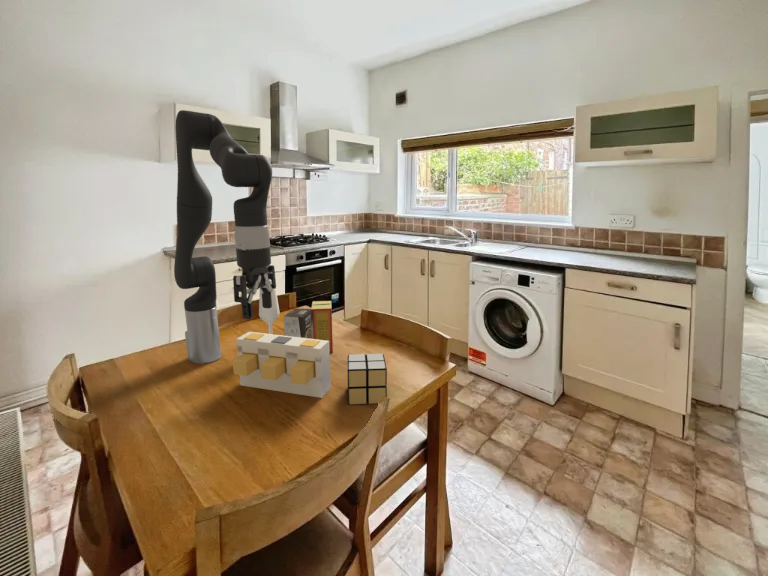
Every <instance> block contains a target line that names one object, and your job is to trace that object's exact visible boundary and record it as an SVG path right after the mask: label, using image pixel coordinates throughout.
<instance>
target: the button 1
mask: <svg viewBox="0 0 768 576" xmlns="http://www.w3.org/2000/svg"><path fill="white" fill-rule="evenodd" d="M257 368H259V360H258V354H254V353H246V352H245V353H243V354H242V355H240V356H239V357H238V356H237V357H235V358H234V359H232V369H233V375H235V376H240V375H242V376H248V375H249V374H251V373H252V372H253V371H255V370H256V369H257Z"/></svg>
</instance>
